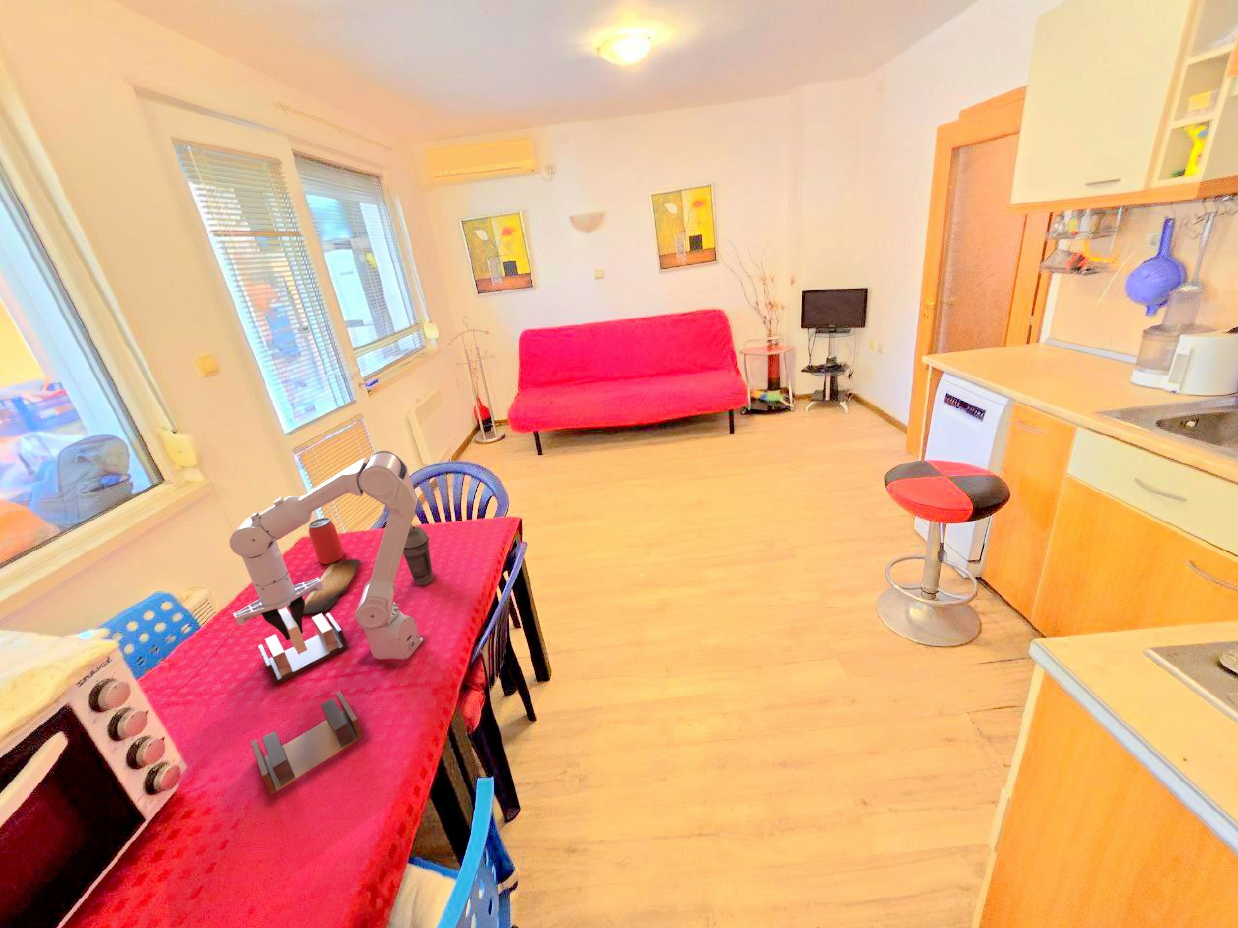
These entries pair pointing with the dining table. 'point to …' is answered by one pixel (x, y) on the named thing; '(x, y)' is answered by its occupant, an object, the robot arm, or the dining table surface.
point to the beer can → (325, 541)
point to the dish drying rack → (317, 651)
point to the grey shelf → (307, 746)
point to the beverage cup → (418, 555)
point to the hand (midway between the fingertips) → (293, 634)
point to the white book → (293, 631)
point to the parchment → (331, 586)
